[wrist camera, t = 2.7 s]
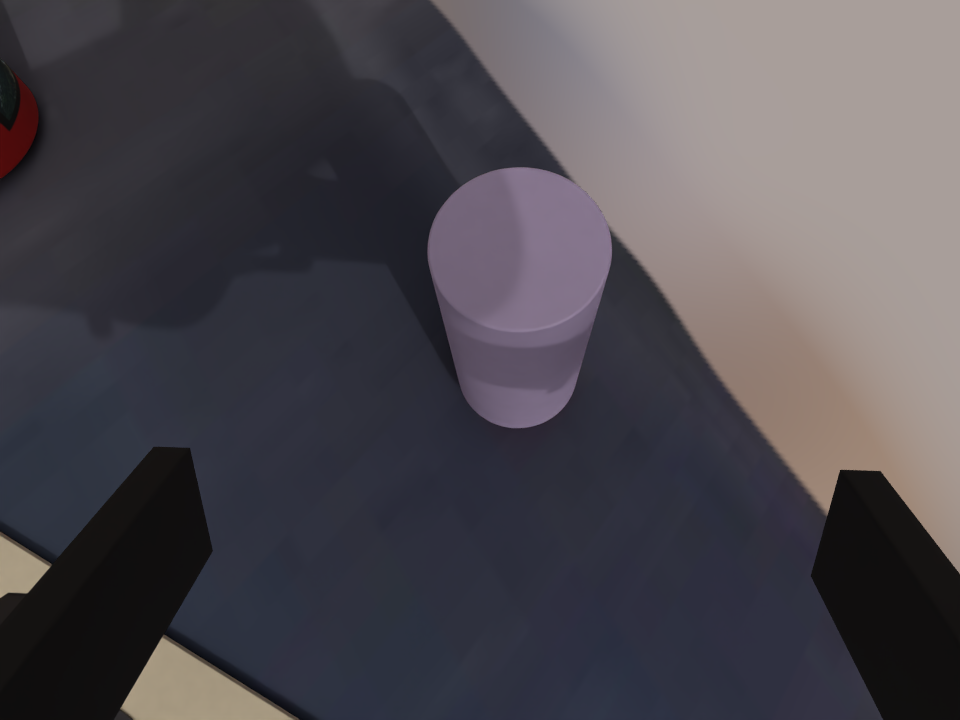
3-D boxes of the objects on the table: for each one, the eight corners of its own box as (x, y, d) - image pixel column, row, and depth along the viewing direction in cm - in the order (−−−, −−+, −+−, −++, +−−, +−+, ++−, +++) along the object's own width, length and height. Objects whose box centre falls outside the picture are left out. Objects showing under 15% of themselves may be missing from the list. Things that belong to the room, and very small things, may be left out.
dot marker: (593, 356, 27) (641, 208, 17) (543, 455, 26) (563, 363, 16) (492, 309, 28) (480, 140, 18) (440, 404, 27) (393, 283, 16)
